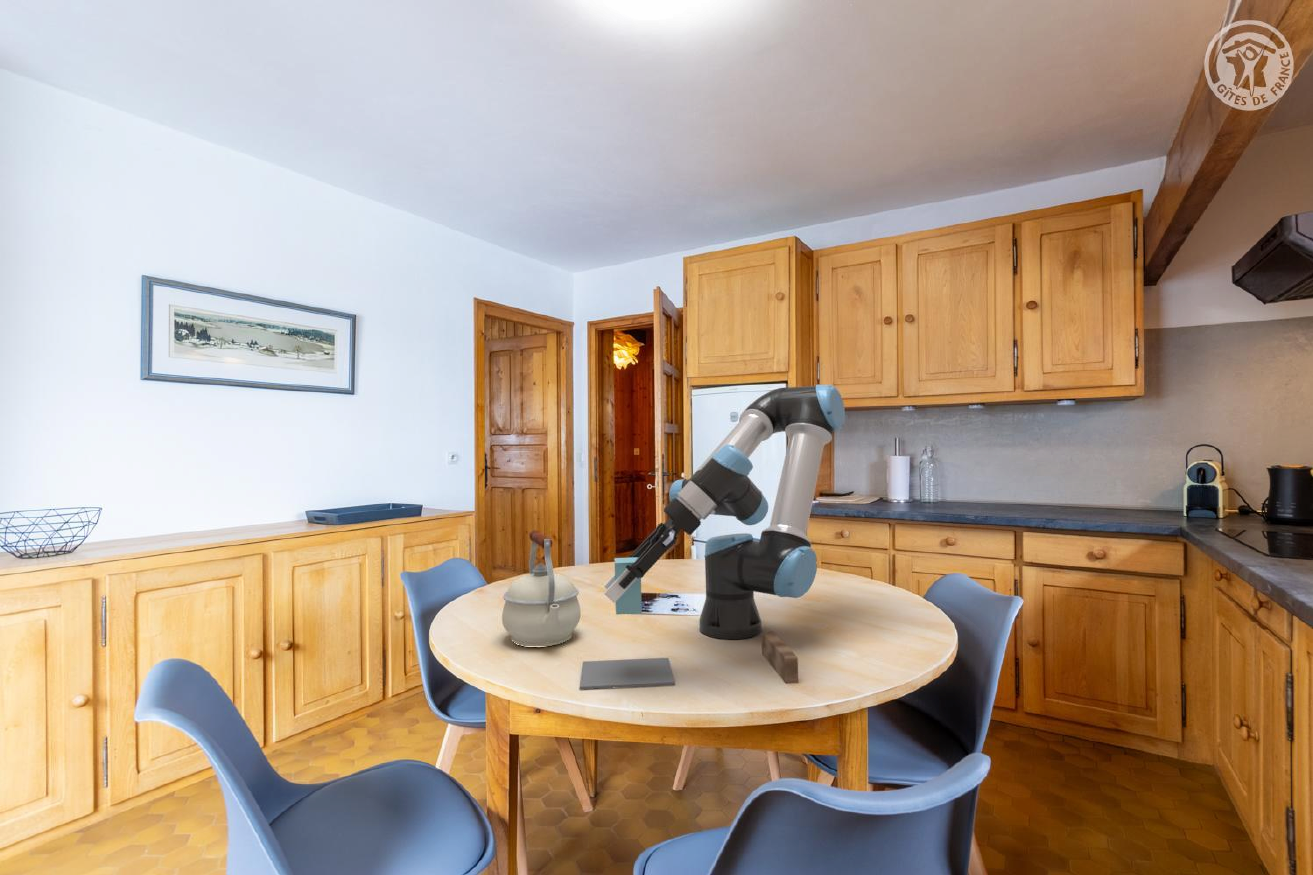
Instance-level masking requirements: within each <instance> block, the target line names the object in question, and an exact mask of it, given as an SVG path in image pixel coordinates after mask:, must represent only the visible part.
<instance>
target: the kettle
mask: <svg viewBox="0 0 1313 875" xmlns="http://www.w3.org/2000/svg"><path fill="white" fill-rule="evenodd" d="M529 539H530V541H531V549H530V555H529V562H528V563H529V564H528V570H529V571H528V572H529V574H526V575H523V576H521V577H519V578H517V579H515V580H513V582H512V583H511V584H510V585H509V587H508V589H507V591H506V592H505V593H504V594H503V596H502V597H503V600H504V601H505V602H504V605H503V609H502V614H501V615H502V616H501V621H502V626H503V628H504V629H505V631H506V633H508V634H509V635H510V636H511V641H512V640H513V641H514V642H515V643H517V644H519V645H523V646H552V645H556V644H560V643H562V644H564V643H563V642H565V641H566V642H568V641H569V640H571V638H573V637H572V636H573V631H574V630H575V629H576V627H577V626H578V624H579V622H580V619H581V607H580V603H579V600H578V595H579V594H580V593H579V592H580V591H579V589H578V588H577V587H575V585H574V583H573V581H572V580H571V579H570V578H568V577H567V576H565V575H562V574H559V573H555V572H554V568H553V562H552V553H551V548H552V546H553V540H552V539H551V538H550V537H547V536H546V535H544V534H543V533H541V532H539V530H532V531H531V532H530V533H529ZM538 546H539V547H541V548H542V549H543V550H544V561H545V562H544V563H545V564H544V563H541V562H540V563H538V564H537V565H535V564H536V563H535V562H536V555H537V550H538V549H537V548H538ZM567 640H568V641H567ZM566 642H565V643H566ZM560 645H561V644H560ZM556 646H557V645H556ZM552 647H553V646H552Z"/></svg>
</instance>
